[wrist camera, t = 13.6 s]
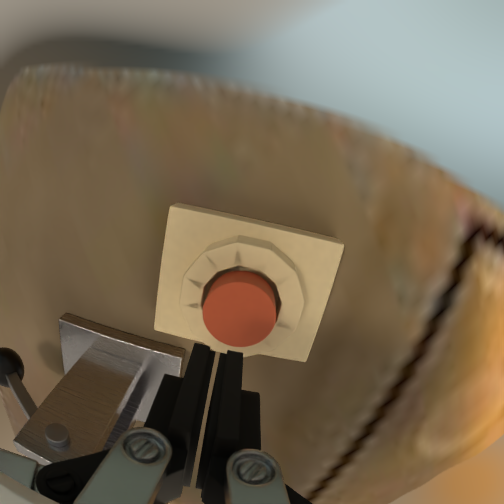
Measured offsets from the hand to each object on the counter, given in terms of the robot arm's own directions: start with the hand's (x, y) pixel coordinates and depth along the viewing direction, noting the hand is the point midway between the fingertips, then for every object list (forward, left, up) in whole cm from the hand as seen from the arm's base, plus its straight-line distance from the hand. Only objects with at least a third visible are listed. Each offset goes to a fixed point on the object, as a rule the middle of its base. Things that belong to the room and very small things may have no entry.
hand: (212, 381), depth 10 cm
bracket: (-7, -10, -10) cm, 16 cm away
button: (+1, 0, -7) cm, 7 cm away
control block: (+1, 0, -10) cm, 10 cm away
